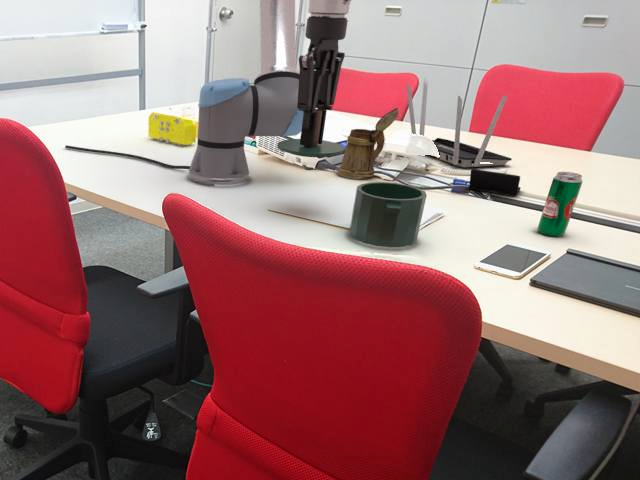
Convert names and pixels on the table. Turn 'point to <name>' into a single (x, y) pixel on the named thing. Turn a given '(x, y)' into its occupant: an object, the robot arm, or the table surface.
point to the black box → (494, 182)
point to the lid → (317, 149)
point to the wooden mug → (365, 149)
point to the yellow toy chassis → (171, 129)
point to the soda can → (560, 204)
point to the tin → (387, 214)
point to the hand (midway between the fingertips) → (310, 143)
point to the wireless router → (456, 150)
